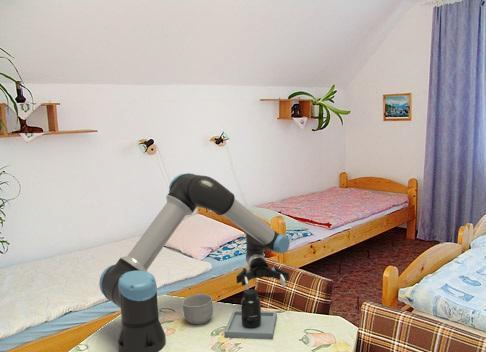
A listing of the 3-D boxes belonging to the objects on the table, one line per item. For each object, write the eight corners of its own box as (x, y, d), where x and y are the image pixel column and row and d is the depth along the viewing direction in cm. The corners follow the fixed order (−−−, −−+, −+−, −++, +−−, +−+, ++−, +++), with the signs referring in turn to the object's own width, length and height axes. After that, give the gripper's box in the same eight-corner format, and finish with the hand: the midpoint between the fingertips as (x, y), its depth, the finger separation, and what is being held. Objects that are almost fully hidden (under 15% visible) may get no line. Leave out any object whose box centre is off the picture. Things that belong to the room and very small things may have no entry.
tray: (224, 337, 146) (224, 331, 146) (233, 315, 161) (233, 310, 161) (272, 339, 143) (272, 333, 143) (276, 316, 159) (276, 311, 158)
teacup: (208, 328, 153) (207, 306, 152) (179, 326, 155) (177, 305, 154) (218, 310, 166) (217, 290, 165) (191, 309, 168) (190, 289, 167)
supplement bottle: (252, 331, 148) (250, 297, 146) (237, 325, 152) (236, 292, 151) (265, 323, 152) (264, 290, 151) (251, 317, 157) (249, 286, 155)
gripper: (288, 272, 182) (299, 292, 161) (228, 277, 180) (232, 297, 159) (288, 255, 181) (299, 273, 160) (227, 259, 179) (231, 277, 158)
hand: (266, 285), depth 159 cm, fingers open, 13 cm apart
